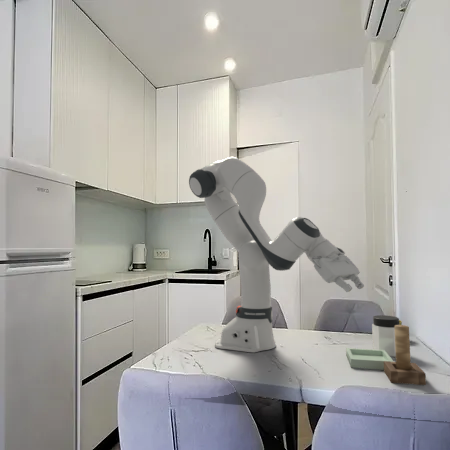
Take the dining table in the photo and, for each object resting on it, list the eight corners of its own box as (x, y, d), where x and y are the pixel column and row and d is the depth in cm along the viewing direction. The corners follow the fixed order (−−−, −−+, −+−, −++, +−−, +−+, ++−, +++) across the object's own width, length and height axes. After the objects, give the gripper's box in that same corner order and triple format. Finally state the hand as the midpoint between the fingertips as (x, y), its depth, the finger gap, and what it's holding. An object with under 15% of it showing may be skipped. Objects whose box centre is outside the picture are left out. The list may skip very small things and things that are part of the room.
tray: (351, 367, 103) (350, 359, 104) (346, 355, 115) (346, 347, 115) (394, 370, 101) (394, 361, 101) (384, 357, 112) (384, 350, 113)
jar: (391, 358, 112) (389, 320, 113) (368, 352, 119) (367, 316, 120) (406, 353, 117) (404, 317, 118) (383, 348, 124) (382, 314, 125)
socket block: (391, 382, 92) (390, 371, 92) (384, 371, 100) (383, 361, 100) (426, 385, 90) (425, 373, 90) (415, 373, 98) (415, 363, 98)
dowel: (398, 380, 93) (396, 327, 94) (395, 375, 97) (392, 324, 98) (413, 381, 93) (410, 328, 94) (409, 376, 96) (406, 325, 97)
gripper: (316, 249, 103) (349, 284, 96) (344, 249, 118) (374, 279, 111) (303, 264, 105) (334, 299, 98) (332, 262, 121) (361, 292, 113)
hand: (356, 289), depth 105 cm, fingers open, 8 cm apart
